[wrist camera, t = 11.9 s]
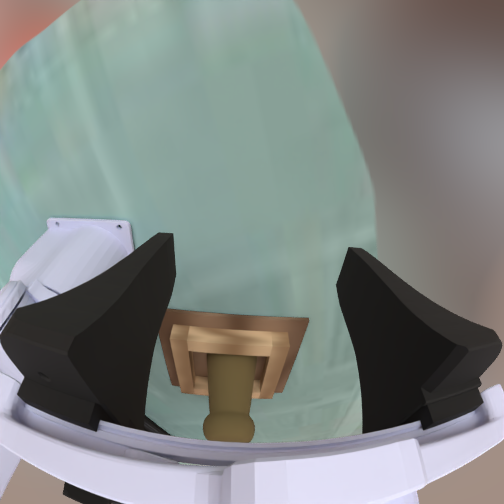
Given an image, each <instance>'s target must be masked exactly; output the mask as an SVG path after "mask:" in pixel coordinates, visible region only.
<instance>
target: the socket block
mask: <svg viewBox="0 0 504 504" xmlns="http://www.w3.org/2000/svg"><path fill="white" fill-rule="evenodd" d="M308 323H309V318H292V317H267V316H249V315H233V314H220V313H207V312H196V311H186V310H176V309H167V310H166V313H165V316H164V319H163V321H162V324H161V327H160V330H159V336H160V341H161V345H162V349H163V353H164V357H165V361H166V365H167V369H168V372H169V376H170V380H171V383H172V385H174V386H180V388H181V392H182V393H188V394H197V395H207V396H209V393H208V374H207V353H216V354H230V355H247V356H257V364H256V371H255V378H254V385H253V392H252V398H260V399H272V397H273V394H274V393H282V392H283V389H284V387H285V384H286V382H287V379H288V377H289V374H290V372H291V369H292V367H293V364H294V361H295V359H296V356H297V353H298V351H299V348H300V345H301V342H302V340H303V337H304V334H305V331H306V328H307V326H308Z"/></svg>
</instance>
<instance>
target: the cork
mask: <svg viewBox="0 0 504 504" xmlns="http://www.w3.org/2000/svg"><path fill="white" fill-rule="evenodd" d="M256 364H257V356H247V355H230V354H216V353H207V374H208V393H209V409H210V414H209V415H208V416H207V417H206V418H205V420H204V423H203V432H204V435H205V437H206V439H207V440H209V441H221V442H240V443H249V442H250V441H251V440H252V438H253V436H254V432H255V425H254V422H253V420H252V419H251V417H250V416H249V412H250V406H251V399H252V392H253V385H254V378H255V371H256Z"/></svg>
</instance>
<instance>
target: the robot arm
mask: <svg viewBox="0 0 504 504" xmlns="http://www.w3.org/2000/svg"><path fill="white" fill-rule="evenodd" d="M58 223H59V224H58ZM118 225H121V227H122V228H120V227H119V226H118ZM47 226H48V230H47V231H46V232H45V233H44V234H43V235H42V236H41V237H40V238H39V239H38V240H37V241H36V242H35V243H34V244H33V245H32V246H31V247H30V248H29V249H28V250H27V251H26V252H25V253H24V254H23V256H22V257H21V258H20V259H19V260H18V261H17V263H16V264H15V266H14V268H13V270H12V273H11V276H10V281H9V282H8V283H7V284H6V285H5V286H4V287H3V288H2V289H1V290H0V500H1V497H2V495H3V493H4V491H5V489H6V487H7V485H8V483H9V481H10V479H11V477H12V475H13V473H14V471H15V470H16V468H17V466H18V464H19V462H20V460H21V459H24V460H25V461H27V462H29V463H30V464H33V465H34V466H36V467H37V468H39V469H41V470H43V471H45V472H47V473H49V474H51V475H53V476H55V477H57V478H59V479H61V480H63V481H65V482H67V483H69V484H72V485H74V486H76V487H79V488H81V489H84V490H86V491H89V492H91V493H94V494H97V495H99V496H102V497H105V498H108V499H111V500H114V501H117V502H120V503H124V504H419V501H418V495H417V490H419V489H421V488H423V487H425V485H426V484H428V483H430V482H432V481H434V480H437V479H439V478H441V477H443V476H445V475H446V474H448V473H450V472H452V471H454V470H456V469H458V468H460V467H462V466H463V465H465V464H467V463H468V462H470V461H472V460H473V459H475V458H477V457H478V456H480V455H482V454H483V453H485V452H486V451H488V450H489V449H491V448H492V447H494V446H495V445H496V444H498V443H499V442H501V441H502V440H503V439H504V392H503V389H502V387H501V385H500V384H497V385H495V386H492V387H490V388H488V389H486V390H484V391H483V392H481V393H480V392H479V390H478V387H480V386H481V381H480V379H479V377H480V376H481V375H482V374H483V373H484V372H485V370H487V368H488V367H489V366H490V365H491V364H492V363H493V362H494V360H495V359H496V358H497V356H498V355H499V353H500V351H501V348H502V342H501V340H500V339H499V337H498V335H497V334H496V333H495V331H494V330H492V329H489V328H487V327H484V326H481V325H479V324H476V323H473V322H471V321H469V320H467V319H464V318H462V317H460V316H458V315H456V314H454V313H452V312H450V311H448V310H446V309H445V308H443V307H441V306H439V305H438V304H436V303H434V302H433V301H431V300H430V299H428V298H427V297H425V296H424V295H422V294H421V293H419V292H418V291H416V290H415V289H414V288H412V287H411V286H410V285H408V284H407V283H406V282H404V281H403V280H402V279H401V278H399V277H398V276H397V275H396V274H394V273H393V272H392V271H391V270H389V269H388V268H387V267H386V266H385V265H383V264H382V263H381V262H380V261H378V260H377V259H376V258H375V257H373V256H372V255H371V254H369V253H368V252H367V251H365V250H363V249H362V248H353V247H348V251H347V254H346V257H345V260H344V263H343V266H342V269H341V272H340V275H339V278H338V281H337V284H336V287H337V293H338V298H339V303H340V307H341V310H342V313H343V316H344V319H345V322H346V325H347V328H348V331H349V334H350V337H351V340H352V344H353V347H354V351H355V354H356V360H357V365H358V371H359V379H360V387H361V397H362V420H363V427H362V434H359V435H353V436H347V437H340V438H332V439H324V440H314V441H301V442H282V443H240V442H221V441H209V440H198V439H190V438H182V437H175V436H169V435H163V434H157V433H152V432H147V431H144V418H145V405H146V396H147V388H148V381H149V374H150V368H151V362H152V357H153V352H154V347H155V343H156V340H157V336H158V333H159V330H160V327H161V324H162V321H163V319H164V316H165V313H166V310H167V307H168V304H169V301H170V299H171V296H172V292H173V287H174V282H175V278H176V266H175V252H174V237H173V233H157V234H156V235H154V236H153V237H152V238H150V239H149V240H148V241H146V242H145V243H144V244H142V245H141V246H140V247H138V248H137V249H136V250H134V244H133V238H132V230H131V225H130V223H129V222H128V221H125V220H103V219H77V218H49V219H48V220H47ZM178 462H183V463H191V464H199V465H210V466H198V465H182V464H179V463H178Z"/></svg>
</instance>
